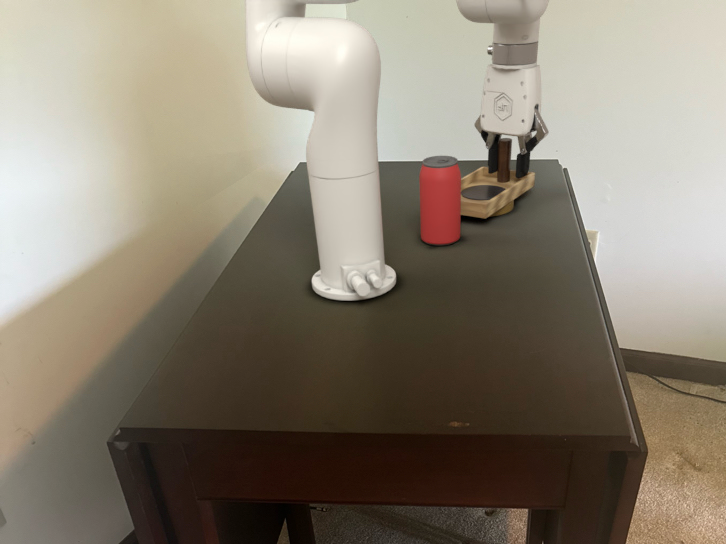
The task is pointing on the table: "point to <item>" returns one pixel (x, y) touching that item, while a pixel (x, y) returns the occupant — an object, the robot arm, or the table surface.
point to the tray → (493, 185)
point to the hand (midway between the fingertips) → (507, 173)
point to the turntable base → (504, 209)
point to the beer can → (440, 200)
